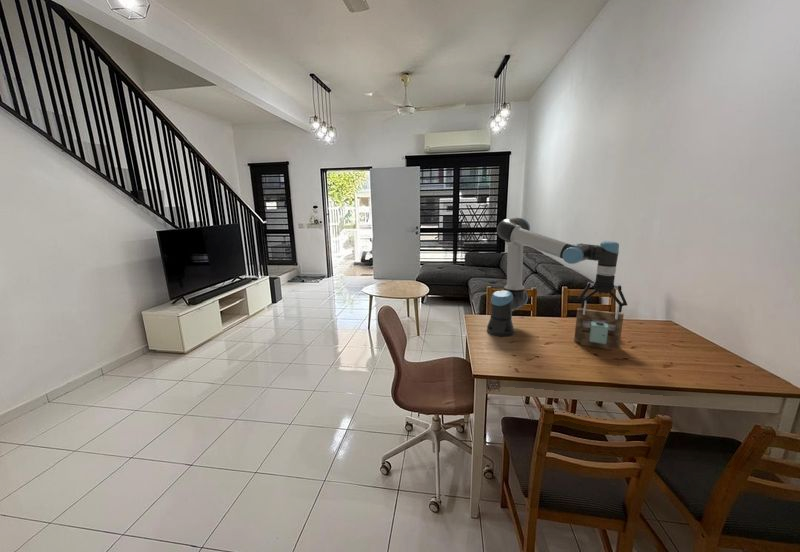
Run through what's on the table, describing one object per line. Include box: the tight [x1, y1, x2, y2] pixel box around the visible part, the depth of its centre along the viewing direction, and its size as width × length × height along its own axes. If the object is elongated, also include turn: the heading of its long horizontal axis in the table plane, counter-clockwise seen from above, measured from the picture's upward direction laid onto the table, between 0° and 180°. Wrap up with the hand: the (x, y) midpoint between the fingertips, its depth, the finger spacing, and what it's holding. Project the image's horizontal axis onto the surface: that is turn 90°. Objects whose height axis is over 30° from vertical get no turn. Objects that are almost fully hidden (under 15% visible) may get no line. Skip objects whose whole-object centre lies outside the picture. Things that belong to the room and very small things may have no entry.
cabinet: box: [589, 319, 608, 344], centre depth 159 cm, size 7×9×10 cm
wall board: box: [573, 307, 624, 351], centre depth 164 cm, size 20×8×18 cm, turn 61°
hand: (599, 316), depth 156 cm, fingers open, 13 cm apart
